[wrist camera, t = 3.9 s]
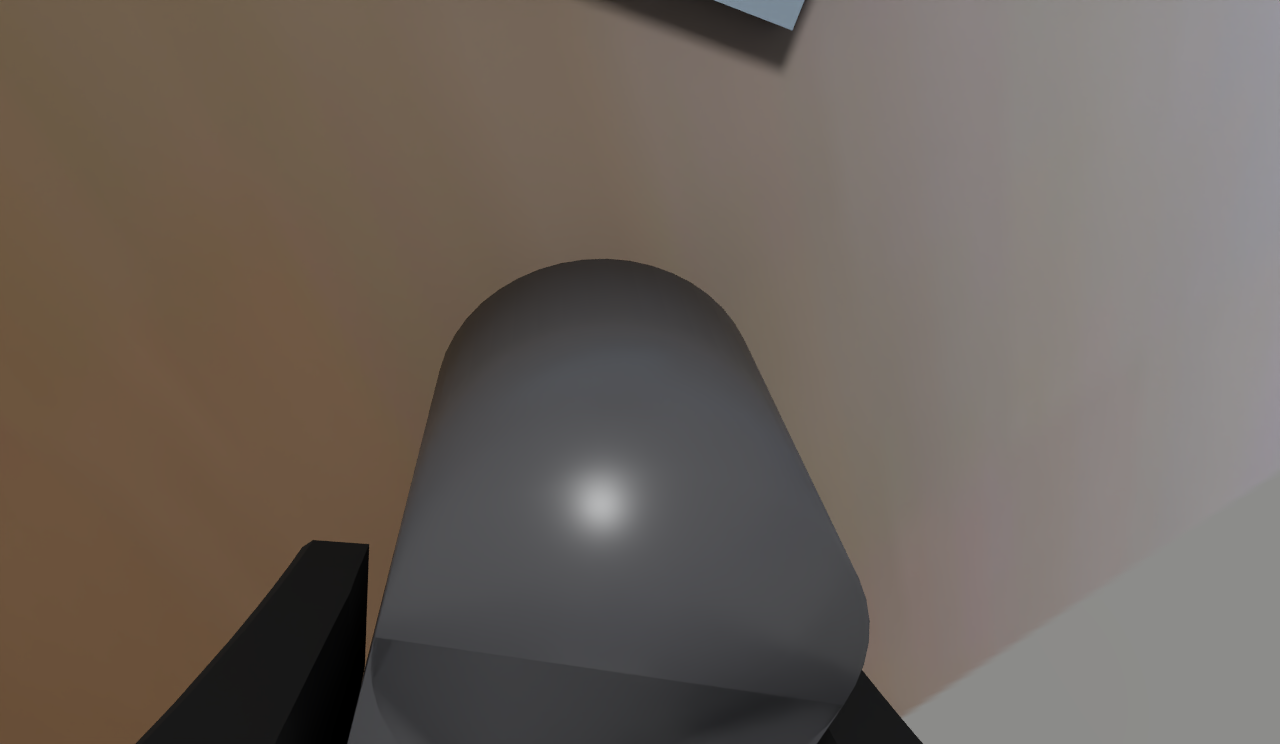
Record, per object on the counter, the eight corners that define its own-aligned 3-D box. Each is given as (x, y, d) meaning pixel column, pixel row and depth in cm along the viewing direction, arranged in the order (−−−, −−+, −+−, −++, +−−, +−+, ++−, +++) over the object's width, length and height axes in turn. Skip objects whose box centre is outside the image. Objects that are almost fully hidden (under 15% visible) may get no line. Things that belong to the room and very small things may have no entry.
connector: (806, 310, 9) (961, 535, 6) (573, 791, 14) (582, 1083, 10) (478, 216, 8) (428, 421, 5) (340, 767, 13) (261, 1082, 9)
